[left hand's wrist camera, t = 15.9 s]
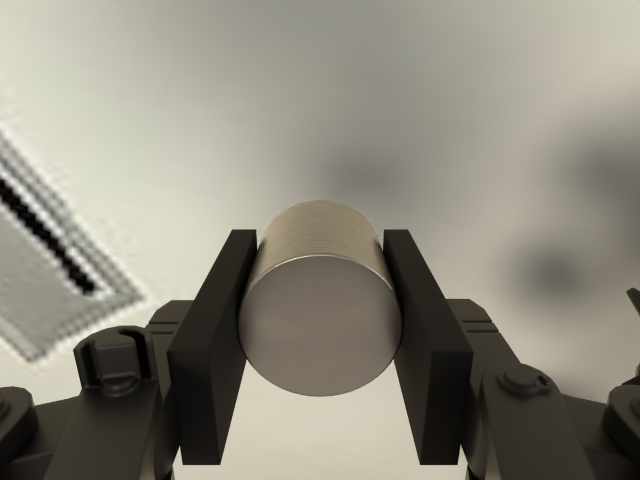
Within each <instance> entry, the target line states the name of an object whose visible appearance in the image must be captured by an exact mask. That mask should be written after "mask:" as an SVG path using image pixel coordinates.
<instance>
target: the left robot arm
mask: <svg viewBox="0 0 640 480" xmlns="http://www.w3.org/2000/svg"><path fill="white" fill-rule="evenodd" d="M256 254H257V236H256V230H232V231H231V233H230V235H229V237H228V239H227V240H226V242H225V244H224V246H223V248H222V250H221V252H220V253H219V255H218V257H217V259H216V261H215V263H214V264H213V266H212V268H211V270H210V272H209V274H208V276H207V277H206V279H205V281H204V283H203V285H202V287H201V288H200V290H199V292H198V294H197V296H196V298H195V300H171V301H170V302H168V303H167V304H165V305H164V306H162V307H161V308H159V309H158V310H157V311H156V312H155V313H154V315H153V316H152V318H151V319H150V321H149V324H148V325H146V327H145V328H142V327H138V326H117V327H112V328H107V329H104V330H101V331H99V332H96V333H93V334H91V335H90V336H88V337H86V338H85V339H83V340H82V341H80V342H79V343H78V345H77V346H76V347H75V348H74V349H73V352H74V356H75V360H76V365H77V369H78V373H79V378H80V382H81V386H82V390H81V392H80V395H79V396H76V397H72V398H69V399H64V400H60V401H55V402H50V403H46V404H41V405H36V406H35V405H34V402H33V398H32V395H31V393H29V392H28V391H27V390H26V389H25V388H19V387H14V386H12V387H2V388H0V480H175V478H174V472H173V462H174V460H175V457H176V454H177V452H178V449H179V446H180V449H181V456H182V463H183V465H220V464H221V460H222V456H223V452H224V448H225V444H226V440H227V436H228V432H229V428H230V424H231V420H232V416H233V412H234V408H235V404H236V400H237V396H238V392H239V388H240V384H241V380H242V376H243V372H244V368H245V364H246V360H247V358H246V357H245V355H244V353H243V351H242V349H241V346H240V343H239V340H238V334H237V313H238V309H239V305H240V302H241V299H242V296H243V293H244V290H245V287H246V284H247V281H248V278H249V275H250V272H251V269H252V266H253V263H254V260H255V257H256ZM383 254H384V257H385V260H386V263H387V266H388V269H389V272H390V275H391V278H392V281H393V284H394V287H395V290H396V293H397V296H398V299H399V302H400V305H401V308H402V312H403V320H404V323H403V336H402V340H401V344H400V346H399V349H398V351H397V353H396V355H395V357H394V358H393V359H394V363H395V367H396V371H397V375H398V379H399V383H400V387H401V391H402V395H403V399H404V403H405V407H406V411H407V415H408V419H409V422H410V426H411V430H412V434H413V438H414V442H415V446H416V450H417V454H418V458H419V462H420V465H458V458H459V451H460V444H461V446H462V448H463V451H464V454H465V456H466V459H467V462H468V465H467V472H466V478H465V480H640V386H639V385H629V384H628V385H622V386H617V387H615V388H614V389H613V390H612V391H611V392H610V393H609V396H608V400H607V403H606V404H604V403H599V402H594V401H590V400H585V399H580V398H575V397H571V396H568V395H564V394H561V393H560V391H559V389H558V387H557V386H556V385H555V383H554V382H553V380H552V379H551V378H550V377H548V376H547V375H545V374H544V373H543V372H541V371H540V370H538V369H535V368H533V367H531V366H529V365H526V364H521V363H520V361H519V360H518V358H517V357H516V355H515V354H514V352H513V351H512V350H511V348H510V347H509V345H508V344H507V342H506V341H505V339H504V338H503V336H502V335H501V333H499V330H498V329H497V327H496V326H495V324H494V323H492V320H491V319H490V317H489V316H488V314H487V313H486V311H485V310H484V309H483V308H482V307H480V306H479V305H477V304H476V303H474V302H473V301H471V300H470V299H445V297H444V295H443V293H442V292H441V290H440V288H439V286H438V284H437V282H436V281H435V279H434V277H433V275H432V273H431V271H430V269H429V268H428V266H427V264H426V262H425V260H424V258H423V257H422V255H421V253H420V251H419V249H418V247H417V245H416V244H415V242H414V240H413V238H412V236H411V234H410V233H409V231H408V230H384V241H383Z"/></svg>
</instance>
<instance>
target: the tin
mask: <svg viewBox="0 0 640 480" xmlns="http://www.w3.org/2000/svg"><path fill="white" fill-rule="evenodd" d="M403 323H404V320H403V312H402V308H401V305H400V302H399V299H398V296H397V293H396V290H395V287H394V284H393V281H392V278H391V275H390V272H389V269H388V266H387V263H386V260H385V257H384V254H383V251H382V248H381V245H380V242H379V239H378V236H377V234H376V232H375V230H374V229H373V227H372V226H371V225H370V223H369V222H368V221H367V220H366V219H365V218H364V217H363V216H362V215H360V214H359V213H358V212H356V211H355V210H353V209H351V208H349V207H347V206H345V205H342V204H339V203H336V202H330V201H309V202H305V203H301V204H298V205H295V206H293V207H291V208H289V209H287V210H285V211H284V212H282V213H281V214H279V215H278V216H277V217H276V218H275V219H274V220H273V221H272V222H271V223H270V225H269V226H268V227H267V229H266V231H265V232H264V234H263V237H262V239H261V242H260V245H259V248H258V251H257V254H256V257H255V260H254V263H253V266H252V269H251V272H250V275H249V278H248V281H247V284H246V287H245V290H244V293H243V296H242V299H241V302H240V305H239V309H238V313H237V334H238V340H239V343H240V346H241V349H242V351H243V353H244V355H245V357H246V358H247V360H248V361H249V363H250V364H251V366H252V367H253V368H254V369H255V370H256V371H257V372H258V373H259V374H260V375H261V376H263V377H264V378H265V379H266V380H268V381H269V382H271V383H272V384H274V385H276V386H278V387H280V388H282V389H284V390H287V391H290V392H293V393H297V394H301V395H307V396H334V395H339V394H344V393H347V392H351V391H353V390H356V389H358V388H361V387H362V386H364V385H366V384H368V383H370V382H371V381H372V380H374V379H375V378H377V377H378V376H379V375H380V374H381V373H382V372H383V371H384V370H385V369H386V368H387V367H388V366H389V364H390V363H391V362H392V360H393V358H394V357H395V355H396V353H397V351H398V349H399V346H400V344H401V340H402V336H403Z"/></svg>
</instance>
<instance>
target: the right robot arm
mask: <svg viewBox="0 0 640 480" xmlns="http://www.w3.org/2000/svg"><path fill="white" fill-rule="evenodd" d="M626 292H627V294H628V296H629V298H630V300H631V302H632V303H633V305H634V307H635V309H636V311H637V312H638V314H639V316H640V291H638V290H637V289H635V288H631V289H629V290H627V291H626ZM628 384H629V385H639V386H640V363H639V365H638V366H637V368H636V377H634V378H632V379H630V380H628V381H626V382H625V383H623V384H622V385H628ZM622 385H621V386H622Z"/></svg>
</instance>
